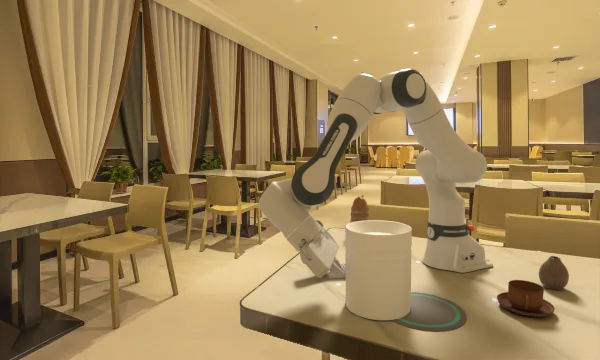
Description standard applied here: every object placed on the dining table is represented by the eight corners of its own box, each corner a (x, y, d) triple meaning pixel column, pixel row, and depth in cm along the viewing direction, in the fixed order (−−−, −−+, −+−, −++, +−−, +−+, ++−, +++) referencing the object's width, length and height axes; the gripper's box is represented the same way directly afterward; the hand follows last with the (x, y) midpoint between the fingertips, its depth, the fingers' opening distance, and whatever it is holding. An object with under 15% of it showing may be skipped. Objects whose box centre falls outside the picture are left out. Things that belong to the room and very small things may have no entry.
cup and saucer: (565, 323, 81) (567, 297, 80) (508, 319, 83) (509, 294, 82) (538, 300, 93) (540, 277, 92) (489, 297, 94) (490, 275, 94)
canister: (358, 287, 100) (358, 218, 98) (416, 299, 92) (418, 223, 90) (335, 311, 86) (334, 230, 84) (401, 326, 78) (402, 238, 77)
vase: (559, 294, 96) (561, 262, 95) (532, 285, 102) (534, 255, 101) (572, 289, 99) (575, 258, 98) (546, 280, 105) (548, 252, 104)
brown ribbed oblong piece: (364, 239, 152) (365, 197, 150) (347, 236, 156) (347, 196, 154) (371, 234, 159) (372, 195, 157) (354, 232, 163) (355, 193, 161)
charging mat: (416, 279, 107) (416, 271, 107) (486, 324, 80) (486, 314, 80) (354, 285, 102) (354, 277, 102) (406, 336, 75) (407, 325, 75)
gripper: (306, 237, 81) (348, 282, 80) (321, 219, 101) (355, 255, 100) (287, 255, 83) (328, 299, 81) (305, 233, 102) (339, 269, 101)
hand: (343, 275), depth 91 cm, fingers closed, pressing on canister
